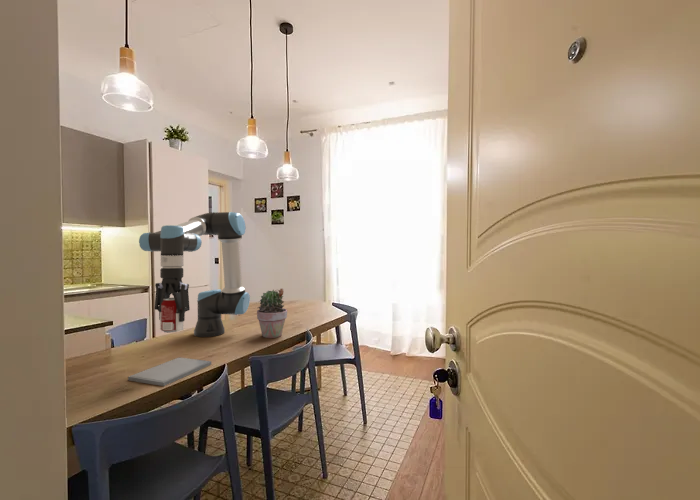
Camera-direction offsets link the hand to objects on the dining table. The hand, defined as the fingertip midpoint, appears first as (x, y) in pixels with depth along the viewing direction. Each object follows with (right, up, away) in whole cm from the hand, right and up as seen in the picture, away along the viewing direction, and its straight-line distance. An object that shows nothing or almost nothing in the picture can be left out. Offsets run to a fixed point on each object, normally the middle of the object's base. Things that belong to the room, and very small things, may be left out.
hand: (171, 329), depth 123 cm
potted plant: (+24, -16, +52) cm, 59 cm away
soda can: (0, -1, 0) cm, 1 cm away
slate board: (0, -16, 0) cm, 16 cm away
